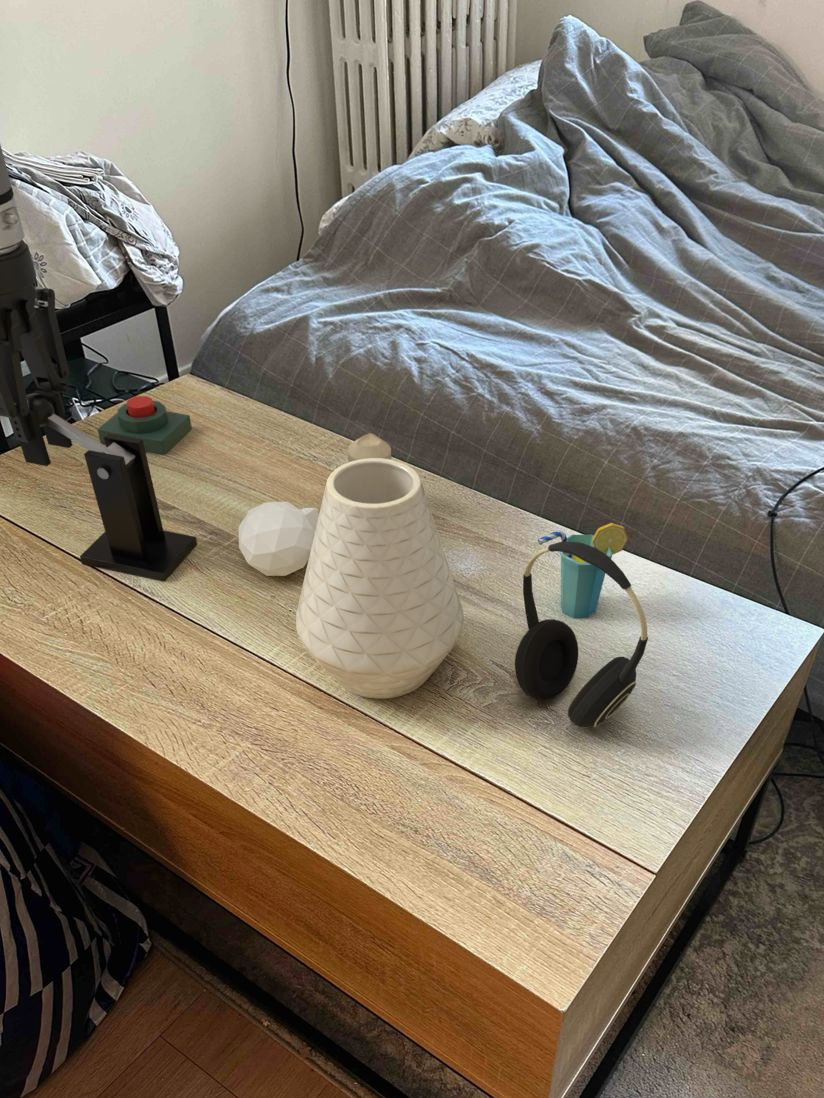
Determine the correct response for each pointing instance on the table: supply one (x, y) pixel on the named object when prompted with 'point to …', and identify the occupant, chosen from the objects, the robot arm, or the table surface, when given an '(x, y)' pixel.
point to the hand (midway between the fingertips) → (49, 453)
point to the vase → (378, 583)
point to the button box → (149, 428)
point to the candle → (368, 448)
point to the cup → (585, 569)
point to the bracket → (131, 517)
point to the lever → (73, 429)
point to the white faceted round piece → (277, 537)
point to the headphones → (574, 650)
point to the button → (140, 406)
